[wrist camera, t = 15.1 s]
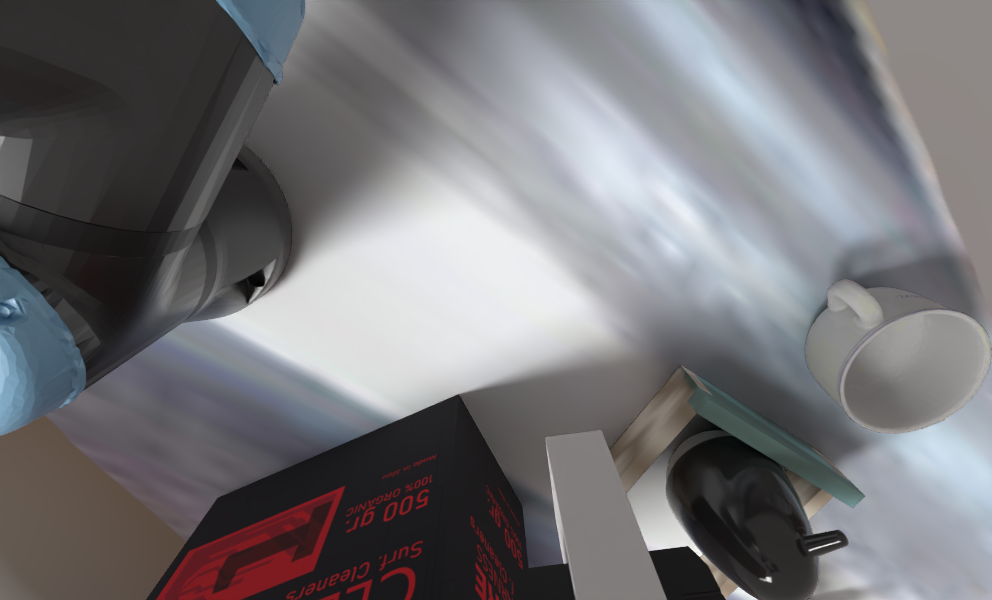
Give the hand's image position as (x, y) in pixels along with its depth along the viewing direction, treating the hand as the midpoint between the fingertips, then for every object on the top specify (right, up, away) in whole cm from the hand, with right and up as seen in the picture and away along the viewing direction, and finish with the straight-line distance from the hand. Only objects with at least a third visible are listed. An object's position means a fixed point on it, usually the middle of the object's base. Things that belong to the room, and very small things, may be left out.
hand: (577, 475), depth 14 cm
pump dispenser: (+18, -11, +36) cm, 41 cm away
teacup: (+28, +3, +31) cm, 42 cm away
